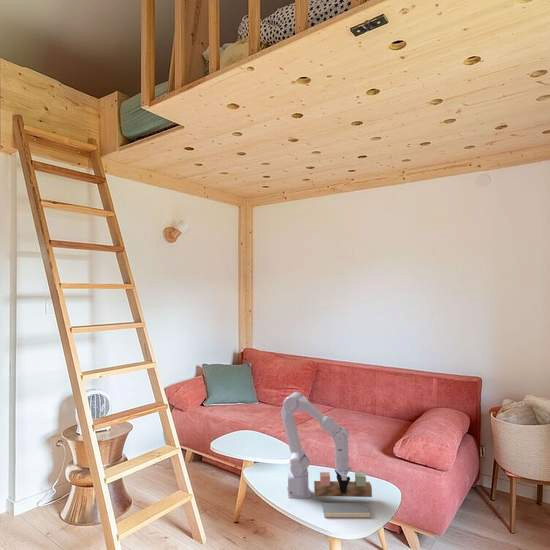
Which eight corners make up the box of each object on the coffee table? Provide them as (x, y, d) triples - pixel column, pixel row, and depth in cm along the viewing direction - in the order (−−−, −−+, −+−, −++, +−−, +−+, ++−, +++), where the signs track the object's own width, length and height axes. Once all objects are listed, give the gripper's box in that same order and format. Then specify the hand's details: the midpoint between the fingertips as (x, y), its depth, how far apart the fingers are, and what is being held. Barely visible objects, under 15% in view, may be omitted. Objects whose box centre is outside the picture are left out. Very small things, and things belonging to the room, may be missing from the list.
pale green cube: (356, 486, 170) (356, 476, 170) (355, 482, 174) (354, 472, 174) (366, 486, 170) (365, 476, 170) (364, 482, 174) (364, 472, 174)
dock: (324, 517, 160) (324, 512, 160) (322, 507, 167) (322, 502, 167) (369, 517, 159) (369, 512, 159) (366, 507, 166) (366, 503, 166)
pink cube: (320, 486, 171) (320, 476, 171) (320, 481, 175) (320, 472, 175) (330, 486, 171) (330, 476, 171) (329, 481, 175) (329, 472, 175)
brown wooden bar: (314, 496, 171) (314, 486, 171) (314, 490, 176) (314, 480, 176) (371, 497, 169) (371, 487, 169) (369, 491, 174) (369, 481, 174)
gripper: (353, 464, 166) (354, 498, 165) (348, 451, 180) (349, 481, 179) (336, 464, 166) (337, 498, 165) (332, 451, 180) (333, 481, 180)
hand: (342, 489), depth 172 cm, fingers closed on brown wooden bar, 5 cm apart
